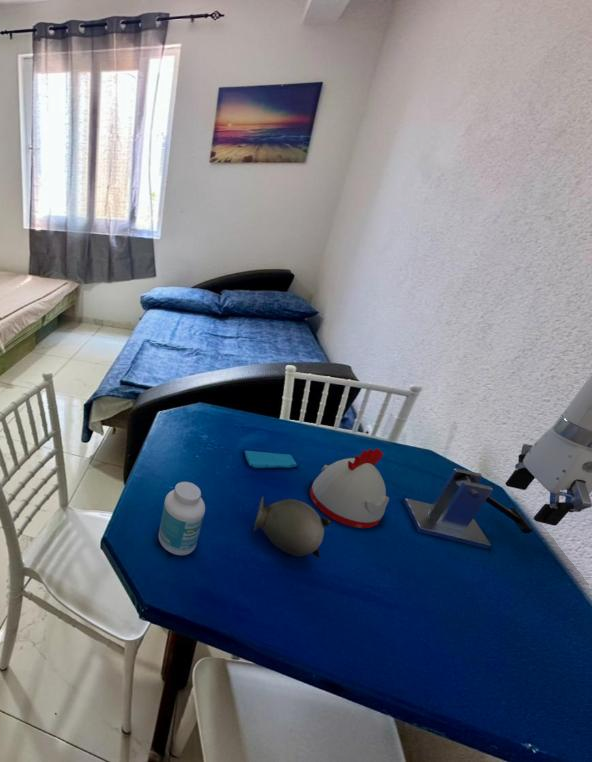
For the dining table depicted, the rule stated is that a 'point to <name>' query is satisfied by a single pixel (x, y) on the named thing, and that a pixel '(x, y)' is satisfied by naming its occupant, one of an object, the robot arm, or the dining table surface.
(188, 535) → the pill bottle
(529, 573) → the dining table surface
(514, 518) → the lever
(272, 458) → the sponge
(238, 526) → the dining table surface
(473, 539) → the bracket
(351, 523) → the kitchen timer
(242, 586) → the dining table surface
